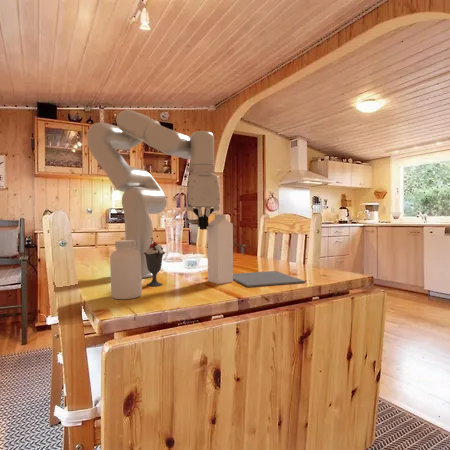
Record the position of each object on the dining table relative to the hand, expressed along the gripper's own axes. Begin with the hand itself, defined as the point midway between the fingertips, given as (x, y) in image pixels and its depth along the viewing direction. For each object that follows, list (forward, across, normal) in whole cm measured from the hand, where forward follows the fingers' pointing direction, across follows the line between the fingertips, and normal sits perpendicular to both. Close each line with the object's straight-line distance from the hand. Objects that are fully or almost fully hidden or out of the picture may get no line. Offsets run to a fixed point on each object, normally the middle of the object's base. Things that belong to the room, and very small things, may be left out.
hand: (203, 229), depth 107 cm
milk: (+18, +6, 0) cm, 18 cm away
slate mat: (+17, +21, -1) cm, 27 cm away
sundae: (+17, -15, +2) cm, 23 cm away
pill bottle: (+17, -24, -10) cm, 31 cm away
